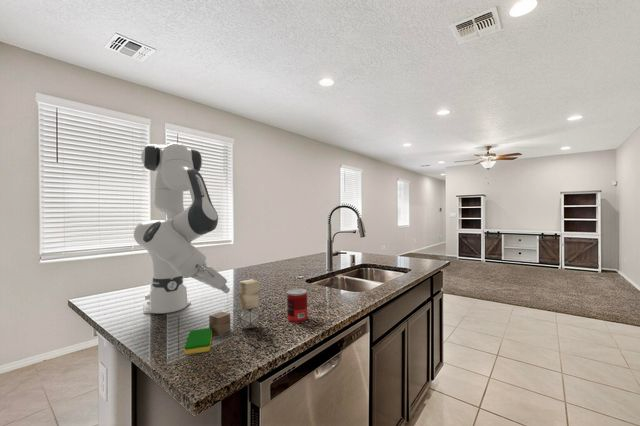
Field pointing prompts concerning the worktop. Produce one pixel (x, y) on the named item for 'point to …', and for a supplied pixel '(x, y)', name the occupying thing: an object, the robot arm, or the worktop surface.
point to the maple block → (249, 294)
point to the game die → (249, 318)
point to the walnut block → (219, 322)
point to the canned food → (297, 305)
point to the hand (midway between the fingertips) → (221, 288)
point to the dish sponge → (198, 341)
